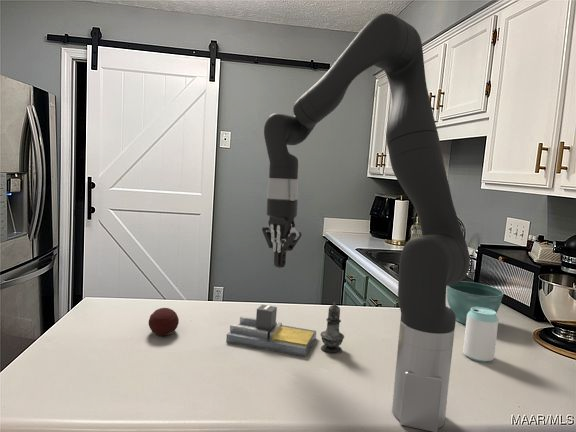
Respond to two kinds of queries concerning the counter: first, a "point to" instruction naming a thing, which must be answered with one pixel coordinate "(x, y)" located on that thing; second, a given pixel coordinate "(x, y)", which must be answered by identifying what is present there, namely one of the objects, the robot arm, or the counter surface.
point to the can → (480, 334)
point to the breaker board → (272, 337)
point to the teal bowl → (472, 298)
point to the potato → (163, 321)
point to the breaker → (266, 317)
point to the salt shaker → (332, 332)
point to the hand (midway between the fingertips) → (279, 266)
